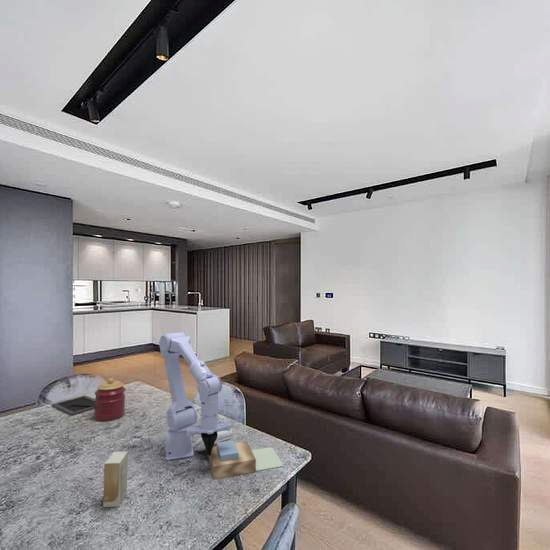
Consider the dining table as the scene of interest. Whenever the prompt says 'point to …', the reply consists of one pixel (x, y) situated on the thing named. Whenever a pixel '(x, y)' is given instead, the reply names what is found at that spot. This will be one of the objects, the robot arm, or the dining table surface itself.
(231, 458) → the blue box
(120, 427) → the dining table surface
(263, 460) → the mat
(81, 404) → the picture frame
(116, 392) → the canister
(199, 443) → the photo printer
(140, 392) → the dining table surface
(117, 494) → the skincare box
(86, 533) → the dining table surface
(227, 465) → the light brown flat block
